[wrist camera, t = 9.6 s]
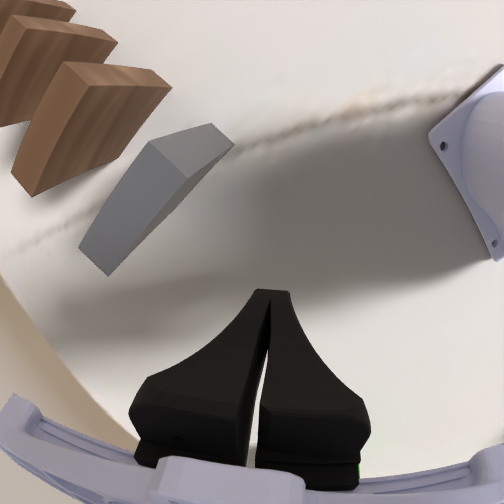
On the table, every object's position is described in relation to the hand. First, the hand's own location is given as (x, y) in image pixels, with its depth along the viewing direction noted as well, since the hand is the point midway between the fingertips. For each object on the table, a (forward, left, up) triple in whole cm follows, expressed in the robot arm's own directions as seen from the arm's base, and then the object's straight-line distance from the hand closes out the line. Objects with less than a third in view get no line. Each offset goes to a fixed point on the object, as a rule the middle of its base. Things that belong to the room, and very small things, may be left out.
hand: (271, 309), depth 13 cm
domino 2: (+11, 0, -5) cm, 12 cm away
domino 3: (+15, 0, -5) cm, 16 cm away
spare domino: (+7, 0, -5) cm, 8 cm away
